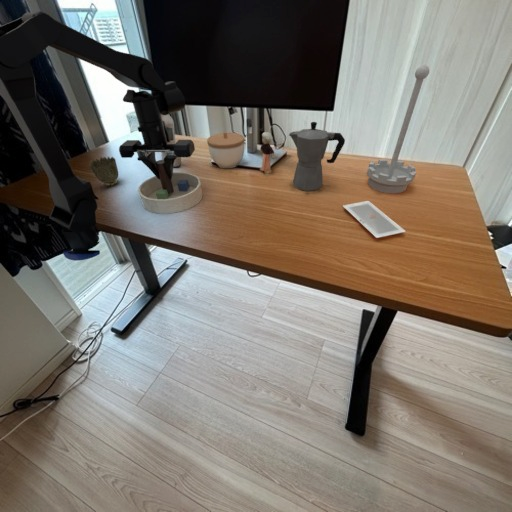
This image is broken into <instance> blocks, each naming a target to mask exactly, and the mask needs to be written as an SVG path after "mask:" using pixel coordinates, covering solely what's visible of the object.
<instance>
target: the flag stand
mask: <svg viewBox="0 0 512 512" xmlns="http://www.w3.org/2000/svg"><path fill="white" fill-rule="evenodd" d="M429 74H430V66H429V65H426V64H422V65H420V66H418V67H417V68H416V70H415V72H414V77H415V79H416V80H415V83H414V86H413V89H412V92H411V95H410V99H409V102H408V105H407V108H406V111H405V115H404V118H403V121H402V126H401V127H400V131H399V135H398V137H397V141H396V144H395V147H394V151H393V154H392V157H391V159H390V162H388V161H389V160H388V159H387V158H383V159H378V160H377V161H378V162H377V163H376V161H373V160H372V161H370V163H369V164H368V167H367V170H366V176H367V177H368V180H367V185H368V186H369V187H370V188H371V189H372V190H375V191H377V192H380V193H385V194H400V193H403V192H405V191H406V190H407V188H408V185H409V184H411V183H412V182H414V180H415V177H416V175H417V171H416V169H417V168H416V167H415V166H414V165H413V164H408V165H407V166H405V165H404V164H405V161H402V160H399V157H400V153H401V150H402V147H403V144H404V141H405V138H406V135H407V131H408V129H409V125H410V122H411V121H412V116H413V113H414V110H415V107H416V104H417V102H418V101H417V100H418V98H419V94H420V91H421V89H422V87H423V86H422V85H423V82H424V80H425V79H426V78H427V77H428V76H429Z"/></svg>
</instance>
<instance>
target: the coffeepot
mask: <svg viewBox="0 0 512 512" xmlns="http://www.w3.org/2000/svg"><path fill="white" fill-rule="evenodd" d="M317 125H318V122H316V121H312V122H310V128H304V129H300V130H297V131H296V130H295V131H291V132H289V134H288V136H289V137H290V138H291V140H292V142H293V144H294V145H295V148H296V156H297V159H298V160H297V163H296V167H295V171H294V175H293V180H292V184H293V187H294V188H295V189H297V190H300V191H304V192H312V191H313V192H315V191H317V190H319V189H320V188H322V187H323V183H324V182H323V181H324V180H323V165H322V160H323V159H324V157H325V154H326V151H327V147H328V145H329V144H328V143H329V142H332V141H337V144H336V145H335V150H334V151H333V152H332V154H331V155H332V156H331V158H330V159H326V163H327V164H334V163H335V162H336V160H337V158H338V156H339V154H340V153H341V150H342V149H343V147H344V145H345V144H346V139H345V137H344V136H343V134H342V133H341V132H332V131H331V132H328V131H327V130H324V129H319V128H317Z"/></svg>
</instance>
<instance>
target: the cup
mask: <svg viewBox="0 0 512 512" xmlns="http://www.w3.org/2000/svg"><path fill="white" fill-rule="evenodd" d="M88 166H89V167H90V169H91V170H92V172H93V175H94V176H95V177H96V179H97V180H98V181H100V182H101V183H104V185H105V186H106V187H107V188H110V187H114V186H116V185H117V184H118V181H117V180H118V178H119V169H118V165H117V161H116V158H115V157H113V156H111V157H109V156H107V157H105V156H104V157H100V158H99V159H98V158H95V160H94V159H92V160H90V161H89V163H88Z"/></svg>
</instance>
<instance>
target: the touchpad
mask: <svg viewBox="0 0 512 512" xmlns="http://www.w3.org/2000/svg"><path fill="white" fill-rule="evenodd" d="M342 207H343V208H344V209H345V210H346V211H347V212H348V213H349V214H351V216H353V217H354V219H356V220H357V221H358V222H359V223H360V224H361V225H362V226H363V227H364V228H365V229H366V230H367V231H368V232H370V233H371V234H372V235H373V236H374V237H375V238H376V239H378V238H384V237H389V236H392V235H397V234H402V233H406V232H407V231H406V230H405V229H404V228H403V227H402V226H400V225H399V224H398V223H396V222H395V221H394V220H393V219H391V218H390V217H389V216H388V215H386V214H385V213H384V212H383V211H382V210H380V208H378V207H377V206H376V205H374V204H373V203H372V202H371V201H369V200H365V201H359V202H354V203H348V204H343V205H342Z"/></svg>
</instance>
